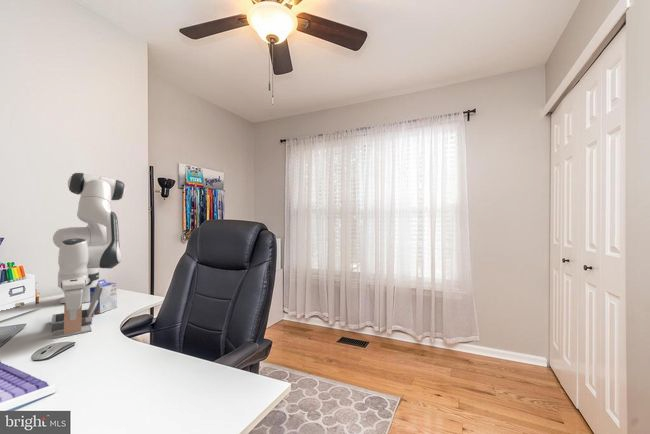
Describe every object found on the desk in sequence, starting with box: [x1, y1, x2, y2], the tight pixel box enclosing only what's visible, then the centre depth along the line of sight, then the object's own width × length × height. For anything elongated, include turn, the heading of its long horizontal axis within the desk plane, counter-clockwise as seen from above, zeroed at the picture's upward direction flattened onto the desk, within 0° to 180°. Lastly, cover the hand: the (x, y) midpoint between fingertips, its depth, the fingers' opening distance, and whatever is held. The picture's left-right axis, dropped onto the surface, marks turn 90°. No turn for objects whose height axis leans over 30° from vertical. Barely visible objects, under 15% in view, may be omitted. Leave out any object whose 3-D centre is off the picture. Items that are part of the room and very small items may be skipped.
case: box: [51, 282, 103, 333], centre depth 119 cm, size 16×16×15 cm
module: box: [63, 303, 83, 334], centre depth 110 cm, size 5×5×11 cm
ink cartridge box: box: [89, 279, 118, 315], centre depth 135 cm, size 10×6×14 cm, turn 174°
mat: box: [52, 324, 92, 340], centre depth 110 cm, size 8×11×1 cm
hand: (72, 316), depth 110 cm, fingers open, 8 cm apart
